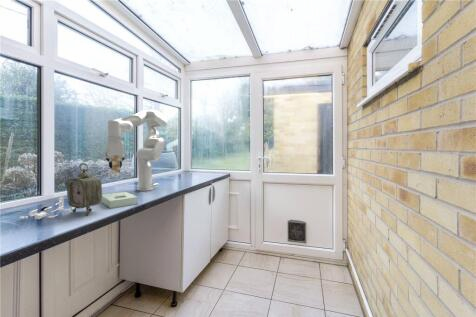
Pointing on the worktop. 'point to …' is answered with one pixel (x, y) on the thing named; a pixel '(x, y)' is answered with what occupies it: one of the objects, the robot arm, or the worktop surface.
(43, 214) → the miniature set
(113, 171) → the oak post
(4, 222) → the worktop surface
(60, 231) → the worktop surface
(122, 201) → the board
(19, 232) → the worktop surface
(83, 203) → the tabletop clock
